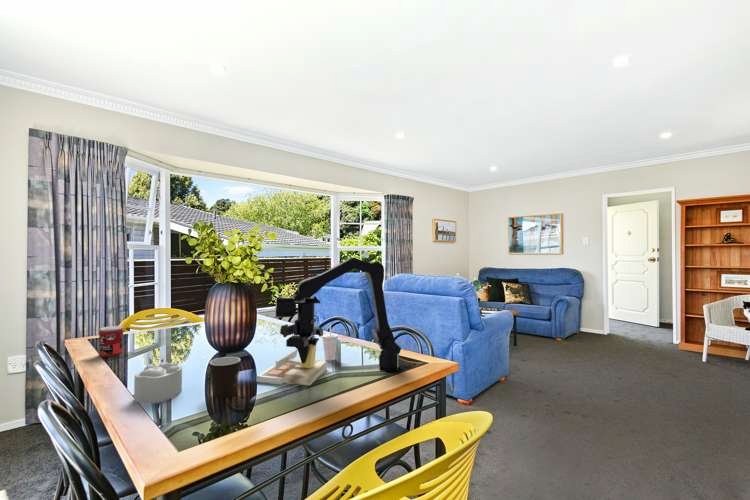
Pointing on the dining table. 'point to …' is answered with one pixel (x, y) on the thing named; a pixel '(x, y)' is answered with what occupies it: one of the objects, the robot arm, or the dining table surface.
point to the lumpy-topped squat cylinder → (158, 383)
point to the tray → (269, 377)
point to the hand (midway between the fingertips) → (305, 361)
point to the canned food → (110, 341)
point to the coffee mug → (225, 376)
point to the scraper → (293, 354)
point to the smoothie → (329, 345)
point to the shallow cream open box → (305, 373)
